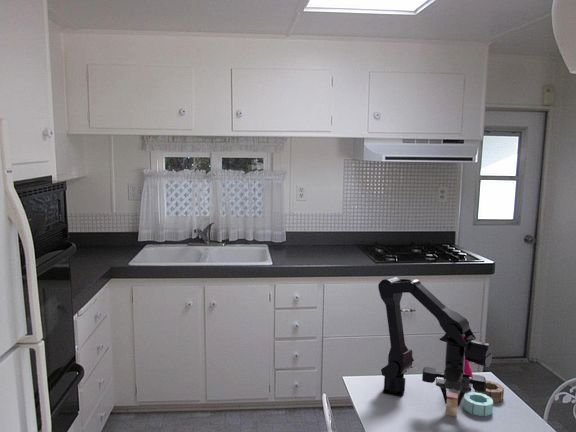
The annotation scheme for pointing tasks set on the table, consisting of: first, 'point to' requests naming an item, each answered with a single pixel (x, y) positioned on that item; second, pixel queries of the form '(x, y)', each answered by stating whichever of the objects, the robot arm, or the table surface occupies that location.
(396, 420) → the table surface
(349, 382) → the table surface
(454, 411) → the pink two-tone square block
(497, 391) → the brown segmented ring
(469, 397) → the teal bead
